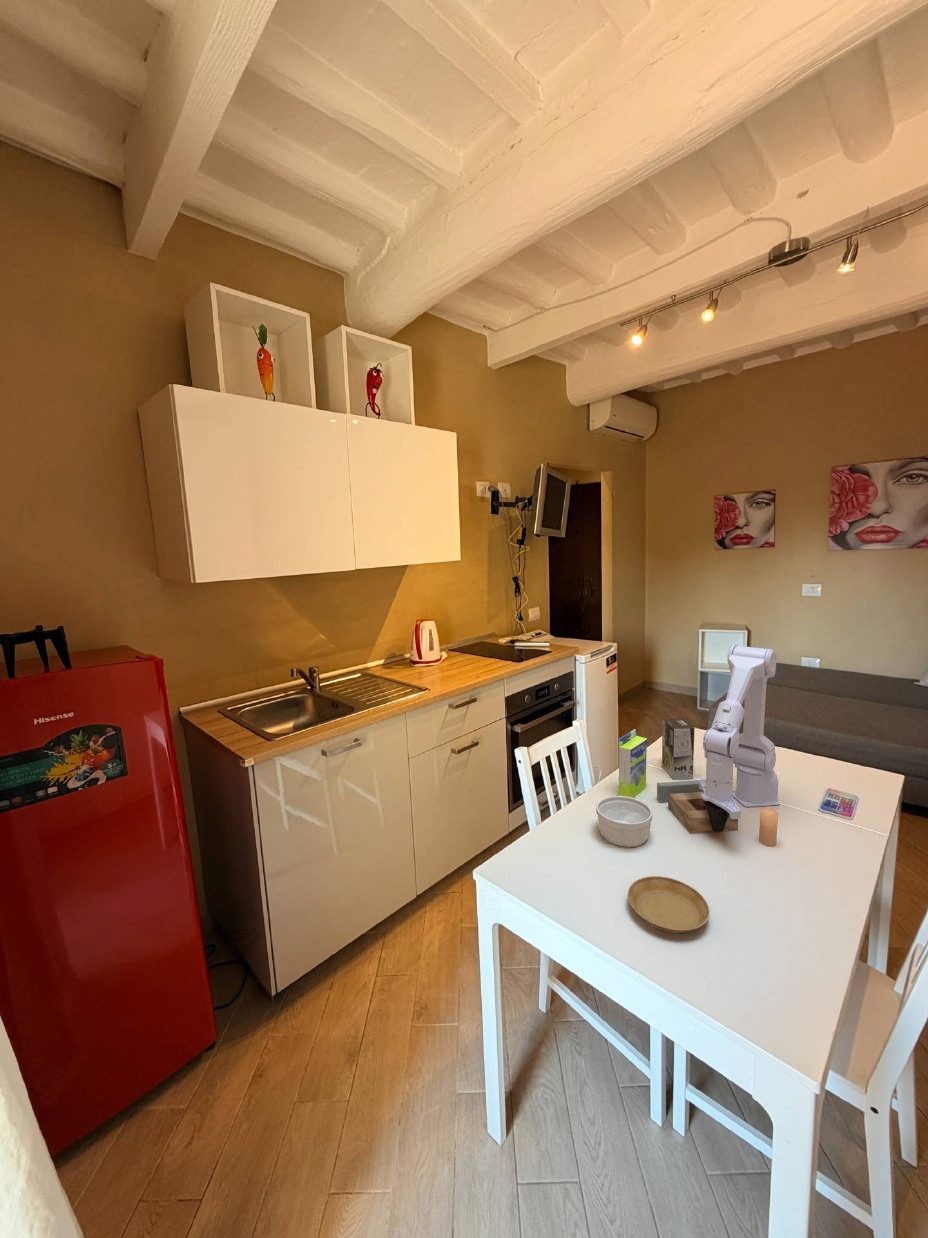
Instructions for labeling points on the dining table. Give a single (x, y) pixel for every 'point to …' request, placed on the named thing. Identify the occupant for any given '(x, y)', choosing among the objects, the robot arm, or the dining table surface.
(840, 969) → the dining table surface
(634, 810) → the ramekin
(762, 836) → the dowel
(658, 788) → the wall
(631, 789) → the box
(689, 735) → the coffee box
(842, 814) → the smartphone
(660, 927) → the plant saucer
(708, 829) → the socket block
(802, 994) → the dining table surface
